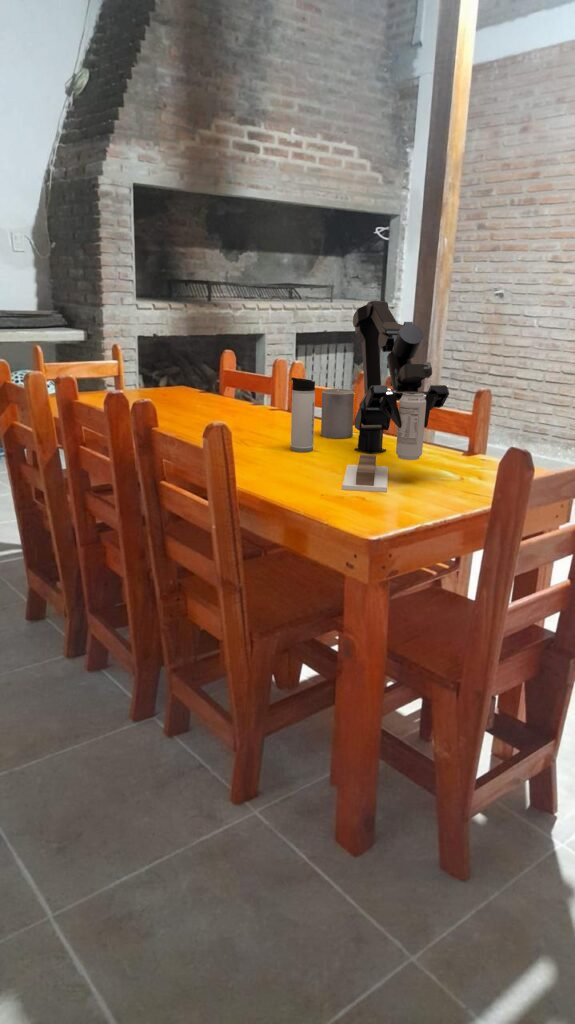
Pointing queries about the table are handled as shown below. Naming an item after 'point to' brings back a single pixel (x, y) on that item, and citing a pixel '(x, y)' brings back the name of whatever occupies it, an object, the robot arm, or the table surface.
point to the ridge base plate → (379, 485)
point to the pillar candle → (337, 413)
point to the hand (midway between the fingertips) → (413, 426)
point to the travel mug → (302, 415)
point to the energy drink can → (411, 426)
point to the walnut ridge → (366, 470)
